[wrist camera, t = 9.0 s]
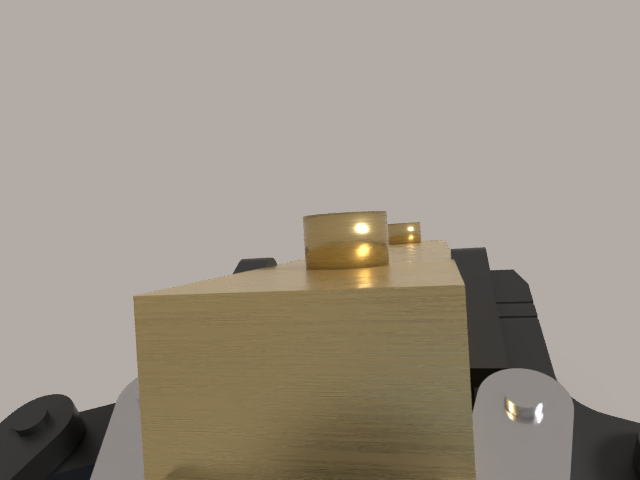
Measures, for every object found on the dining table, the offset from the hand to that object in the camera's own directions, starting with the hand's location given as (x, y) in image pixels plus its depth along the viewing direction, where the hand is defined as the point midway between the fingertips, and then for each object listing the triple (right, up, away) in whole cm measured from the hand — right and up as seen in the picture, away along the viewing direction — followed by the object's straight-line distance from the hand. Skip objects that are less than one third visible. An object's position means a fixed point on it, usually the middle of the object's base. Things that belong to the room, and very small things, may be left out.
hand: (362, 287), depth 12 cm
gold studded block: (+2, -3, +6) cm, 7 cm away
